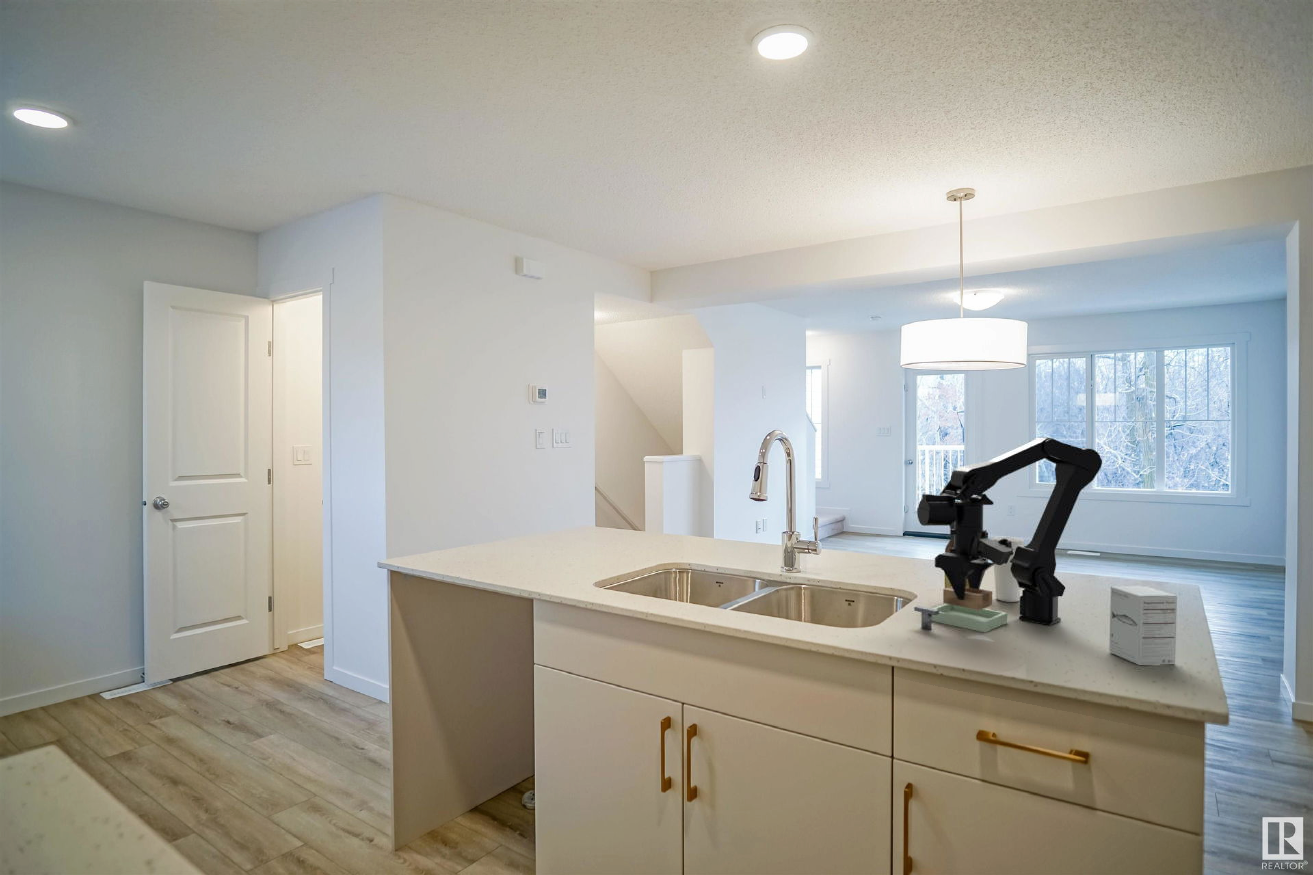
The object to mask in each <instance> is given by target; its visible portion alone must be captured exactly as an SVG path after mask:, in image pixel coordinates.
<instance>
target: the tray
mask: <svg viewBox="0 0 1313 875" xmlns="http://www.w3.org/2000/svg"><path fill="white" fill-rule="evenodd" d="M932 609H936V610H939V614H938V615H932V622H937V623H941V624H945V625H950V626H953V627H959V628H964V629H968V630H973V631H977V632H981V633H987V632H989V631H992V630H994V629H996V628H998V627H1000V626H1003V625H1006V624H1007V623H1008V612H1004V611H1003V612H1002V611H999V610H993V609H989V608H988V609H987V608H983V609H981V610H976V609H971V608H966V607H961V606H956V605H951V604H946V603H943V604H941V605H938V606H935V607H932ZM1005 623H1006V624H1005Z"/></svg>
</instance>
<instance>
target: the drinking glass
mask: <svg viewBox="0 0 1313 875" xmlns="http://www.w3.org/2000/svg"><path fill="white" fill-rule="evenodd" d="M1004 538H1006V539H1008V540H1010V541H1011V543H1012V548H1013V555H1011V556H1010V557H1009V560H1008V562H1007V563H1006V564H1005V563H1004V564H1002V565H996V564H994V565H993V574H994V577H993V578H994V588H995V589H994V592H995V595H994V596H995V599H996V600H998V601H1001V602H1005V603H1017V602H1020V596H1021V588H1020V587H1019V586H1018V583H1017V580H1016V579H1015V578H1014V577H1013V575H1012V572H1011V564H1012V563H1011V562H1010V560H1011V559H1012V558H1013V556H1014V554H1015V550H1016V548H1017V546H1021V547H1025V540H1024V539H1023V538H1020V537H1011V536H994V537H993V538H992V540H996V541H997V542H998V541H1000V540H1001V539H1004Z"/></svg>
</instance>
